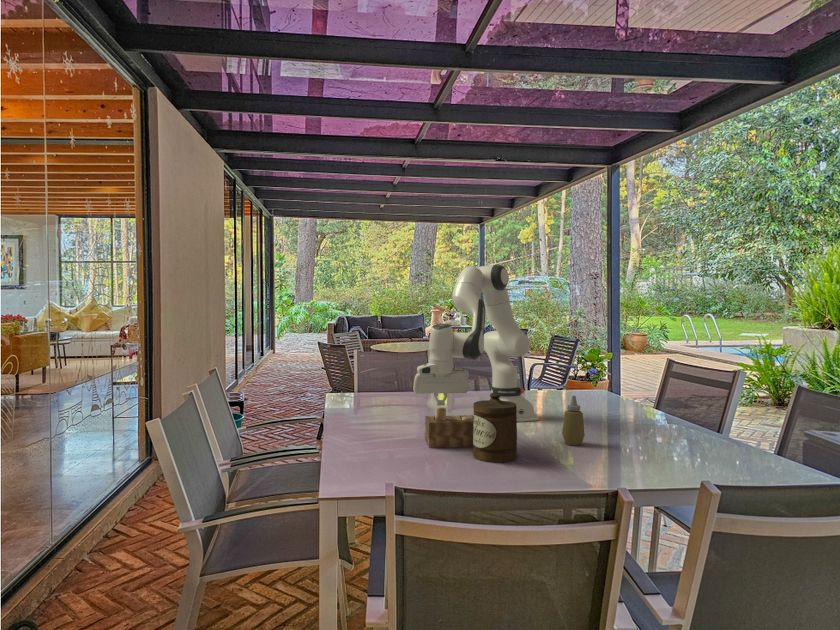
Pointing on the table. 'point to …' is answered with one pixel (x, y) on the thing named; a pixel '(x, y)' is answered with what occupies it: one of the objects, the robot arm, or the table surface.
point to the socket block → (449, 432)
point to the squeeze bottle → (573, 424)
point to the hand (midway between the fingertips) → (440, 405)
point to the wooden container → (495, 430)
